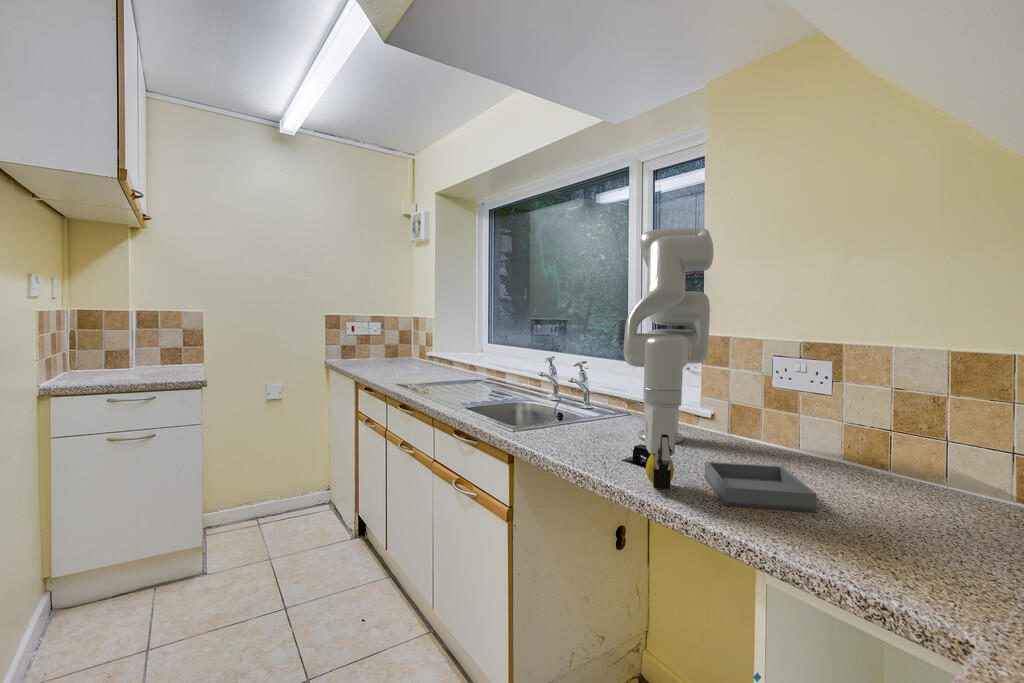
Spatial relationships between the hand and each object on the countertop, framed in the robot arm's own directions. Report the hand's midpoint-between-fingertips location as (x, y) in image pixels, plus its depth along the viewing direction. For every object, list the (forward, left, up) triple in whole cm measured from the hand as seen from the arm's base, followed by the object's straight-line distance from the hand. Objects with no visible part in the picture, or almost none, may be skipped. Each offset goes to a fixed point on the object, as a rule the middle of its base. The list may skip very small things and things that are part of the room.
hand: (659, 481), depth 100 cm
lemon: (0, 0, -1) cm, 1 cm away
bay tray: (-1, +19, -1) cm, 19 cm away
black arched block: (-17, -1, -2) cm, 17 cm away
